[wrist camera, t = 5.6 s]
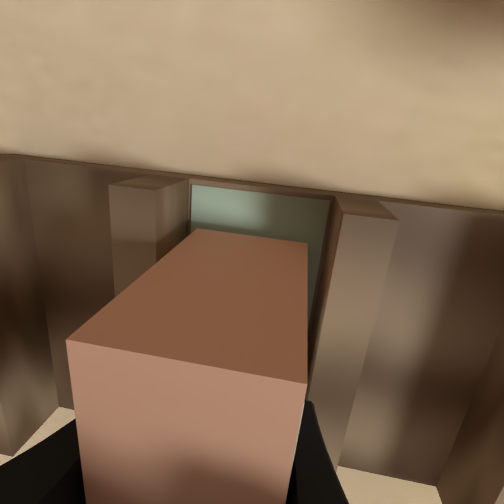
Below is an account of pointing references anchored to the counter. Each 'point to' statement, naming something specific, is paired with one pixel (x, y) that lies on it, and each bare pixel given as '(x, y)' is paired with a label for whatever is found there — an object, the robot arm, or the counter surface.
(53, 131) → the counter surface
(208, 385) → the pink rectangular block
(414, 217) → the rack
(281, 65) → the counter surface
